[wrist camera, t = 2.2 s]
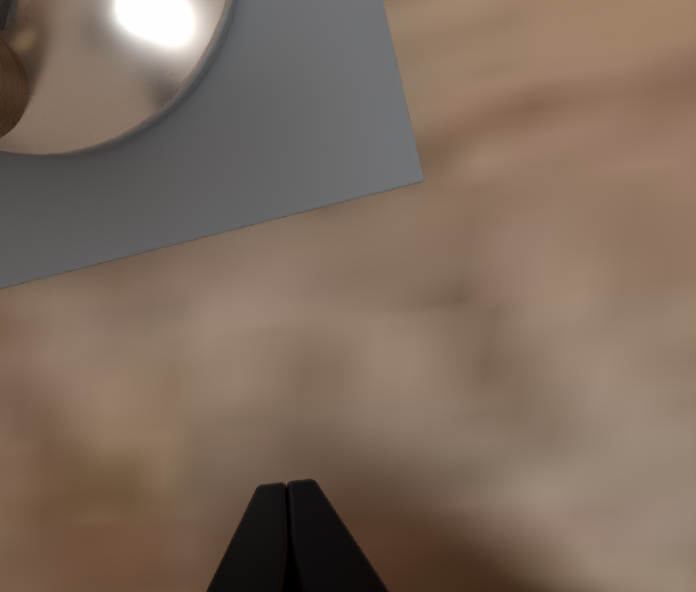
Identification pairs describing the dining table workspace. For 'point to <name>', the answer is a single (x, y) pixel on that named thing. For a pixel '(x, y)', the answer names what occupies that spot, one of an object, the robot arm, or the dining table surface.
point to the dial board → (226, 146)
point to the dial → (100, 68)
